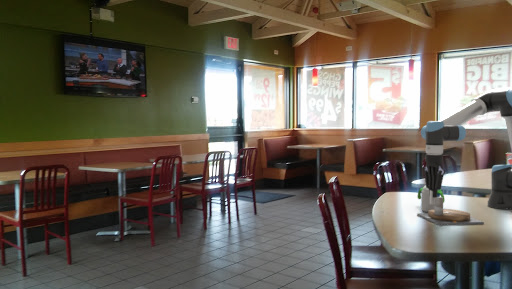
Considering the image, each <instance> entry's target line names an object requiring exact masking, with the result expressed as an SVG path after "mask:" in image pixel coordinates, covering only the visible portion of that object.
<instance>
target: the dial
mask: <svg viewBox="0 0 512 289" xmlns="http://www.w3.org/2000/svg"><path fill="white" fill-rule="evenodd" d="M427 213H428V216H429V217H431V218H434V219H438V220H445V221H467V220H470V217H471V213H469V212H468V211H464V210H459V209H452V208H444V203H443V197H441V196H440V197H435V209H432V210H429V211H428V212H427Z"/></svg>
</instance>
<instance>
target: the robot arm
mask: <svg viewBox="0 0 512 289" xmlns="http://www.w3.org/2000/svg"><path fill="white" fill-rule="evenodd" d="M491 112H499V114H500V117H501V118H502V119H505V120H504V121H505V124H506V125H505V126H506V129H507V136H508V141H509V144H510V149H511V151H512V86H509V87H508V86H507V87H501V88H493V89H490V90H488V91H486V92H484V93H481V94H479V95H478V96H476V97H474V98H472V99H471V101H470V102H469V103H467V104H466V105H464V106H463V107H461V108H459V109H457V110H455V111H454V112H452V113H450V114H448V115H447V116H445V117H442V119H439V120H429V121H427V122H426V125H424V126H423V127H422V128H420V136H421V137H422V139H424V140H425V153H426V154H425V157H424V158H425V163H426V166H425V167H422V171H423V174H424V181H425V185H426V188H428V189H429V196H430V204H431V205H432V204H435V197H437V191H438V190H441V191H442V184H443V180H444V176H445V174H446V170H444V169H443V168H442V164H443V162H444V161H443V160H444V159H443V158H444V155H443V154H444V142H459V141H463V140H464V139H465V138H466V135H467V130H466V128H465V126H463V125H464V124H466V123H467V122H469V121H471V120H472V119H474V118H476V117H478V116H483V115H485V114H488V113H491ZM490 174H491V191H490V192H491V193H490V195H489V197H488V200H487V207H489V208H494V209H499V210H500V209H501V210H512V164H495V165H493V166H492V167H491V173H490Z"/></svg>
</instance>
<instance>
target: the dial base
mask: <svg viewBox="0 0 512 289" xmlns="http://www.w3.org/2000/svg"><path fill="white" fill-rule="evenodd" d="M416 215H417V217H420V218H422V219H424V220H425V221H429V222H431V223H433V224H435V225H437V226H459V225H460V226H464V225H467V226H468V225H485V222H484V221H483V220H482V221H481V220H480V219H477V218H474V217H472V216H470V220H467V221H445V220H438V219H434V218H431V217H429V216H428V212H424V213H423V212H422V213H416Z"/></svg>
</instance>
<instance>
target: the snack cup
mask: <svg viewBox="0 0 512 289" xmlns="http://www.w3.org/2000/svg"><path fill="white" fill-rule="evenodd" d="M422 190H423V187H421V188H420V189H419V190H418V191H417V200H421V196H422ZM437 197H443V204H444V203H445V202H446V201H445V195H444V193H443V191H442V189H441V190H438V191H437Z"/></svg>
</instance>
